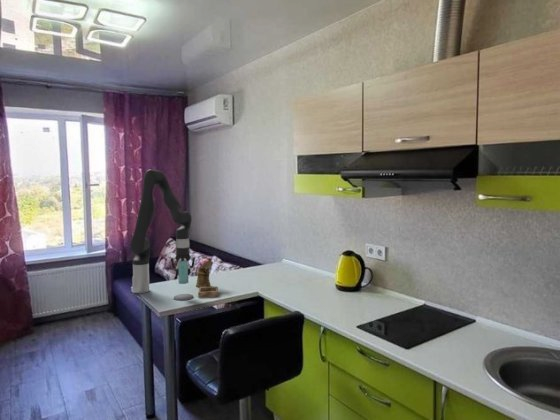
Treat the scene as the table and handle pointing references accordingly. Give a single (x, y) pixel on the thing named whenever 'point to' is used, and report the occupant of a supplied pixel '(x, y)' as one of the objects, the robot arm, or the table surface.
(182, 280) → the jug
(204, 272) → the brown figurine
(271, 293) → the table surface
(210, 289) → the stand
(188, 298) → the disc
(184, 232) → the robot arm
